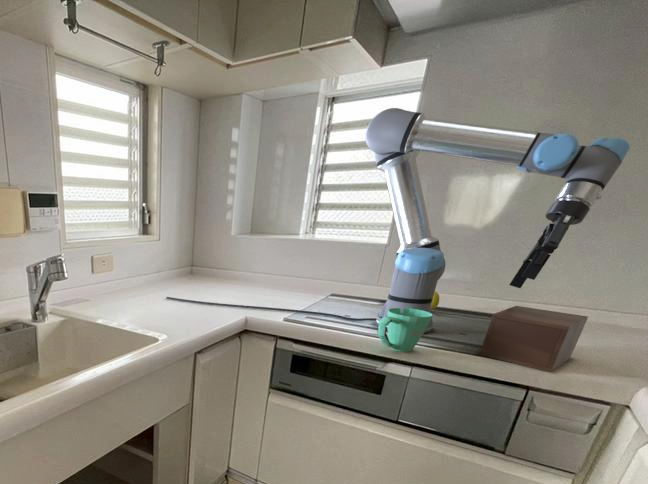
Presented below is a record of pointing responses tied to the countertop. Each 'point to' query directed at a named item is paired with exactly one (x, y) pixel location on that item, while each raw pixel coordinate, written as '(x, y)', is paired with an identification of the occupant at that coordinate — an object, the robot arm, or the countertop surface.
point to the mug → (403, 328)
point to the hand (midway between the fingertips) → (520, 282)
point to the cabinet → (532, 337)
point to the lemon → (435, 300)
